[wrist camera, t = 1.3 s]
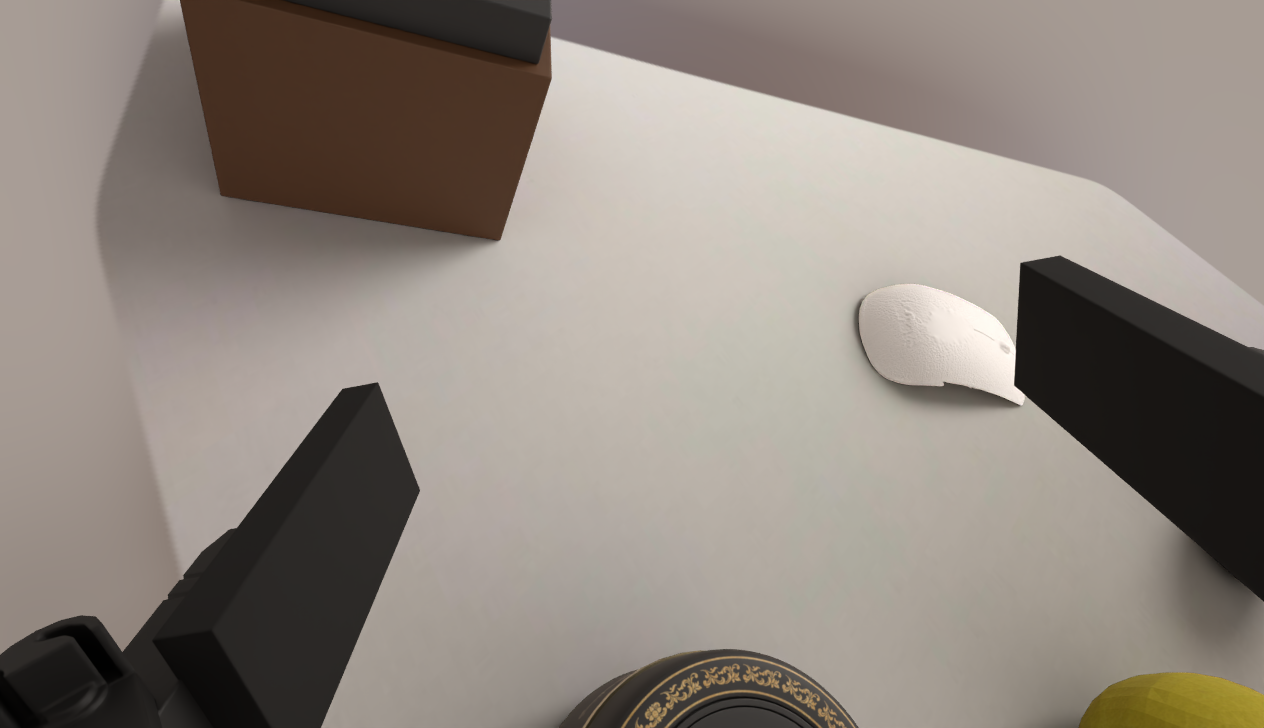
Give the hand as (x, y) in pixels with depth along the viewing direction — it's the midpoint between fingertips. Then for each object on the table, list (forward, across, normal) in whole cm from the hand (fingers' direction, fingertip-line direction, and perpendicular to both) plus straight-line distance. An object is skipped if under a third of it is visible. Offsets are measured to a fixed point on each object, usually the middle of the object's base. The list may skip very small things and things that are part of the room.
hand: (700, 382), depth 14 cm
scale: (+24, -12, +5) cm, 27 cm away
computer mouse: (+25, +16, -14) cm, 32 cm away
